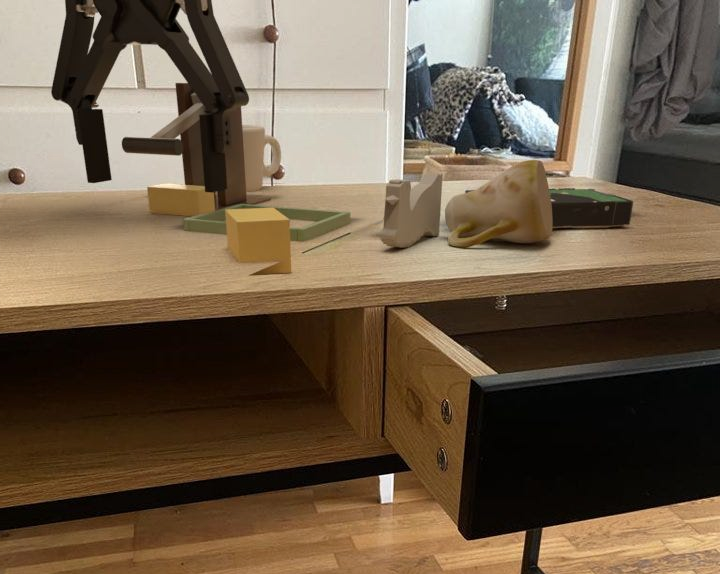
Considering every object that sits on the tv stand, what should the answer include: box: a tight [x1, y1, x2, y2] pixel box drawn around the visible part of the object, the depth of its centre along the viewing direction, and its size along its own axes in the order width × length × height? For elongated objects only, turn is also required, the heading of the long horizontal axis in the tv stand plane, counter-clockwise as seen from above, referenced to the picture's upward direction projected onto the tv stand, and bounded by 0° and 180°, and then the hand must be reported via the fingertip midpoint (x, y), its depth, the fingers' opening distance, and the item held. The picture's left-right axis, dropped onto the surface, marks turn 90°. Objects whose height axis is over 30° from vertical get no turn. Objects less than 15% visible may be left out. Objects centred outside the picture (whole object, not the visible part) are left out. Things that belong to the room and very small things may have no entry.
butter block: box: [146, 183, 215, 217], centre depth 78 cm, size 6×3×4 cm, turn 67°
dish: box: [182, 204, 351, 254], centre depth 72 cm, size 12×10×2 cm
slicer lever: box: [121, 92, 206, 157], centre depth 76 cm, size 13×6×2 cm, turn 157°
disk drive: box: [464, 187, 634, 229], centre depth 80 cm, size 10×3×15 cm
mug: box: [444, 159, 554, 248], centre depth 70 cm, size 8×10×10 cm
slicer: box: [174, 82, 272, 211], centre depth 81 cm, size 10×8×13 cm
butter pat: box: [225, 208, 292, 276], centre depth 61 cm, size 6×4×4 cm, turn 17°
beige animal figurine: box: [379, 172, 443, 249], centre depth 69 cm, size 6×1×10 cm
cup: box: [242, 124, 282, 193], centre depth 95 cm, size 11×8×8 cm
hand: (156, 186), depth 74 cm, fingers open, 13 cm apart
